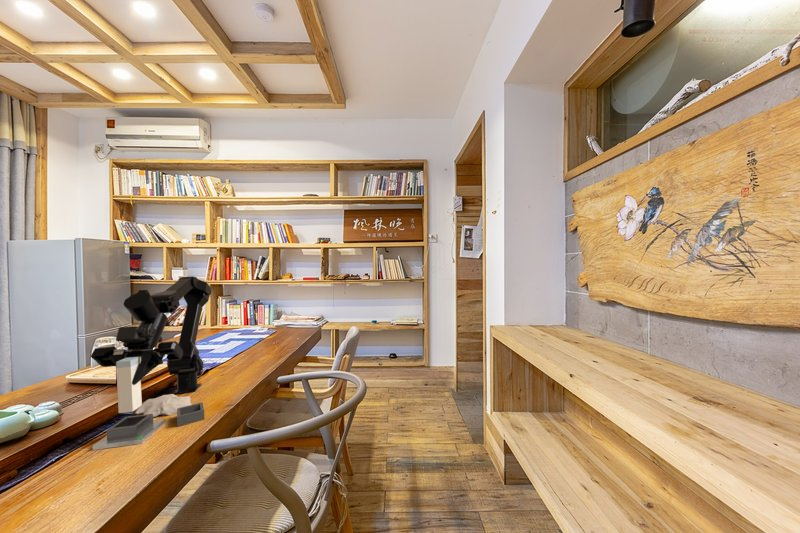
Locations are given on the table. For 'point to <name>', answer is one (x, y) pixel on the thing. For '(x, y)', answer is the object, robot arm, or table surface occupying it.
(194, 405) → the grey hollow square frame
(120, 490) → the table surface
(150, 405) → the decorative stone
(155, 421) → the port
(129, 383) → the plug
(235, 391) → the table surface
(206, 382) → the table surface
